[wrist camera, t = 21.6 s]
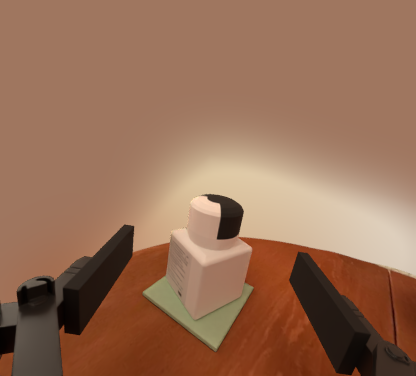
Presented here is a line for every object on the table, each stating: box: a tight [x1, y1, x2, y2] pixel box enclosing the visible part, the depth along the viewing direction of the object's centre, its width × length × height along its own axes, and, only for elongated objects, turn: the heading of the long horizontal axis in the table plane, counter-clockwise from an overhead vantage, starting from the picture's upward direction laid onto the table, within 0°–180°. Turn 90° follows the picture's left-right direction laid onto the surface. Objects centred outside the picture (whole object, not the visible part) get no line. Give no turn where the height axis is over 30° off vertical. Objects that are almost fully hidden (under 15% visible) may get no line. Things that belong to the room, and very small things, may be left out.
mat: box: [143, 276, 253, 352], centre depth 27 cm, size 11×11×1 cm
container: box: [166, 194, 252, 320], centre depth 26 cm, size 8×8×13 cm
